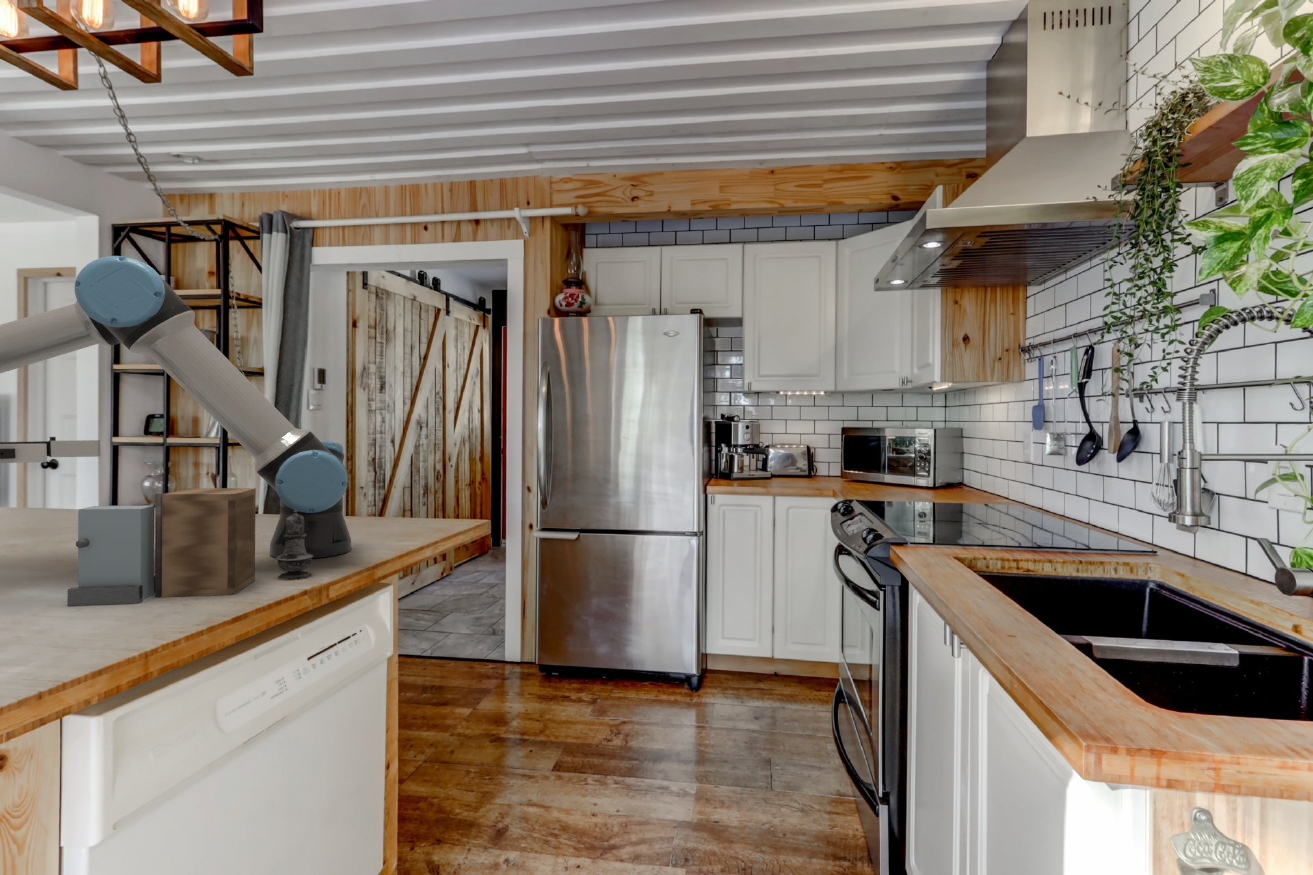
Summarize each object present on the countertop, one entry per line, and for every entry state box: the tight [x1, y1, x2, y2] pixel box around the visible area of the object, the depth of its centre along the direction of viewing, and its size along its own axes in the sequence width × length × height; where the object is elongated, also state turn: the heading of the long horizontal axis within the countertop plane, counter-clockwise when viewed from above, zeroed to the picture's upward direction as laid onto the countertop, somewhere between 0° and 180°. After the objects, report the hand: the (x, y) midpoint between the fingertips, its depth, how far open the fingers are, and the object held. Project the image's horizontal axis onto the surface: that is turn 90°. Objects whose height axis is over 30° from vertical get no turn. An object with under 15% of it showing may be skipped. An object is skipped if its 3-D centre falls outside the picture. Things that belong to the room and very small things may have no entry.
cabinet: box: [154, 487, 257, 598], centre depth 106 cm, size 11×9×16 cm
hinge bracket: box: [66, 574, 155, 607], centre depth 99 cm, size 9×8×2 cm
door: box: [75, 505, 155, 600], centre depth 99 cm, size 8×5×14 cm, turn 104°
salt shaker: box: [275, 509, 314, 581], centre depth 115 cm, size 6×6×12 cm
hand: (74, 450), depth 102 cm, fingers open, 13 cm apart
